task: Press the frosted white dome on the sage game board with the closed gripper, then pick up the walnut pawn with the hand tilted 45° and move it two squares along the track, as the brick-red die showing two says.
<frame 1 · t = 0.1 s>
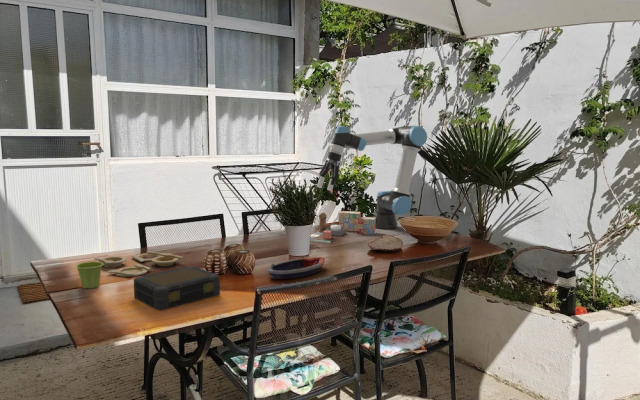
hand: (324, 189, 280), 28 cm above the table, tool tilted 20°, fingers open, 13 cm apart
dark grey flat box: (177, 297, 182), on the table
dish: (298, 274, 213), on the table
stack of blocks: (357, 233, 297), on the table
plant pot: (91, 287, 192), on the table
tableware set: (140, 266, 223), on the table
die: (327, 240, 275), resting on board
board: (324, 237, 282), on the table
pawn: (322, 231, 292), point 1 cm above the table, touching board
dome: (335, 228, 285), point 5 cm above the table, slide at -0.2 cm
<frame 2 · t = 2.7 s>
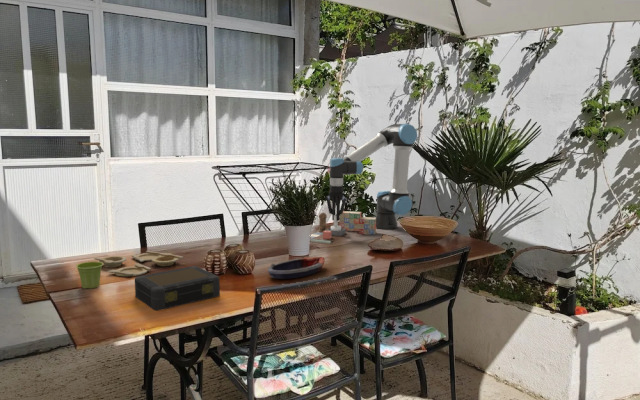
hand: (335, 226, 285), 6 cm above the table, tool pointing down, fingers closed
dome: (335, 229, 285), point 4 cm above the table, slide at -0.7 cm, touching gripper
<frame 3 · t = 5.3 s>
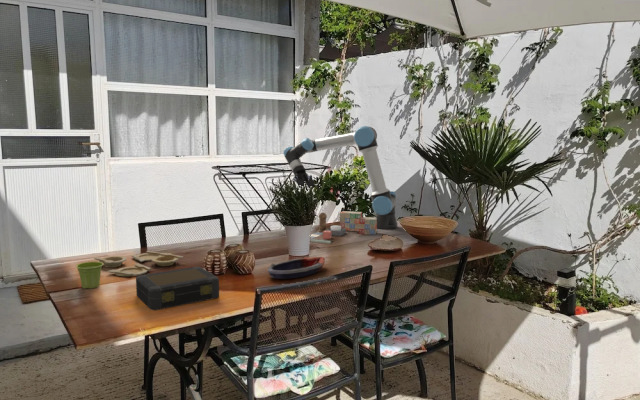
hand: (313, 198, 296), 20 cm above the table, tool tilted 45°, fingers open, 2 cm apart
dome: (335, 229, 285), point 4 cm above the table, slide at -0.6 cm
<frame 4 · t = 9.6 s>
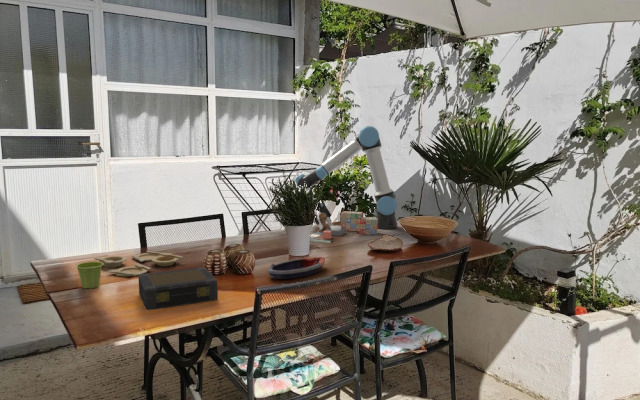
hand: (326, 227, 289), 4 cm above the table, tool tilted 45°, fingers open, 7 cm apart
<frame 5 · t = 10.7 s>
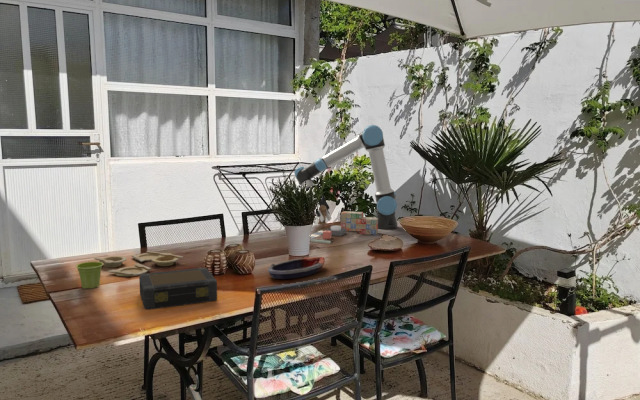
hand: (326, 220, 288), 9 cm above the table, tool tilted 45°, fingers closed on pawn, 4 cm apart
pawn: (322, 224, 291), point 6 cm above the table, touching gripper
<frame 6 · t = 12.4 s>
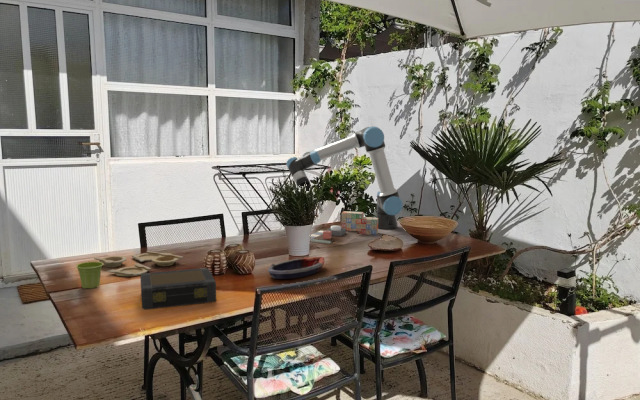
hand: (318, 212, 276), 15 cm above the table, tool tilted 45°, fingers closed on pawn, 4 cm apart
pawn: (313, 216, 279), point 12 cm above the table, touching gripper
when the fingers open (5 cm above the table, at t = 14.4 s): pawn stays where it is, resting on board.
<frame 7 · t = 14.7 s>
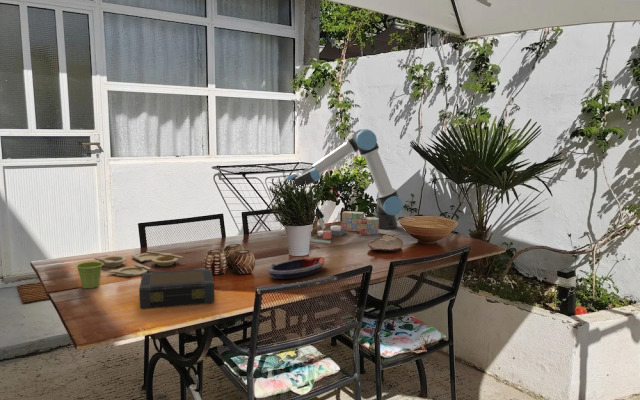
hand: (318, 229, 278), 6 cm above the table, tool tilted 45°, fingers open, 8 cm apart
pawn: (313, 235, 280), point 2 cm above the table, touching board
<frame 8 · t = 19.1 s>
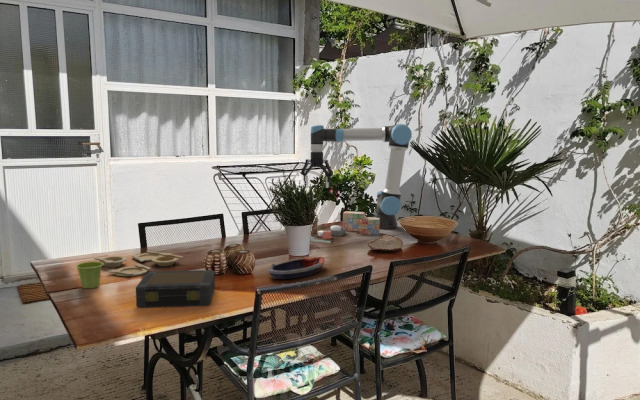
hand: (316, 187, 297), 27 cm above the table, tool pointing down, fingers open, 13 cm apart
at the end: pawn 0.5 cm from the target spot on the board, point 1.5 cm above the board's base; pawn tilted 0°; the gripper is holding nothing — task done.
